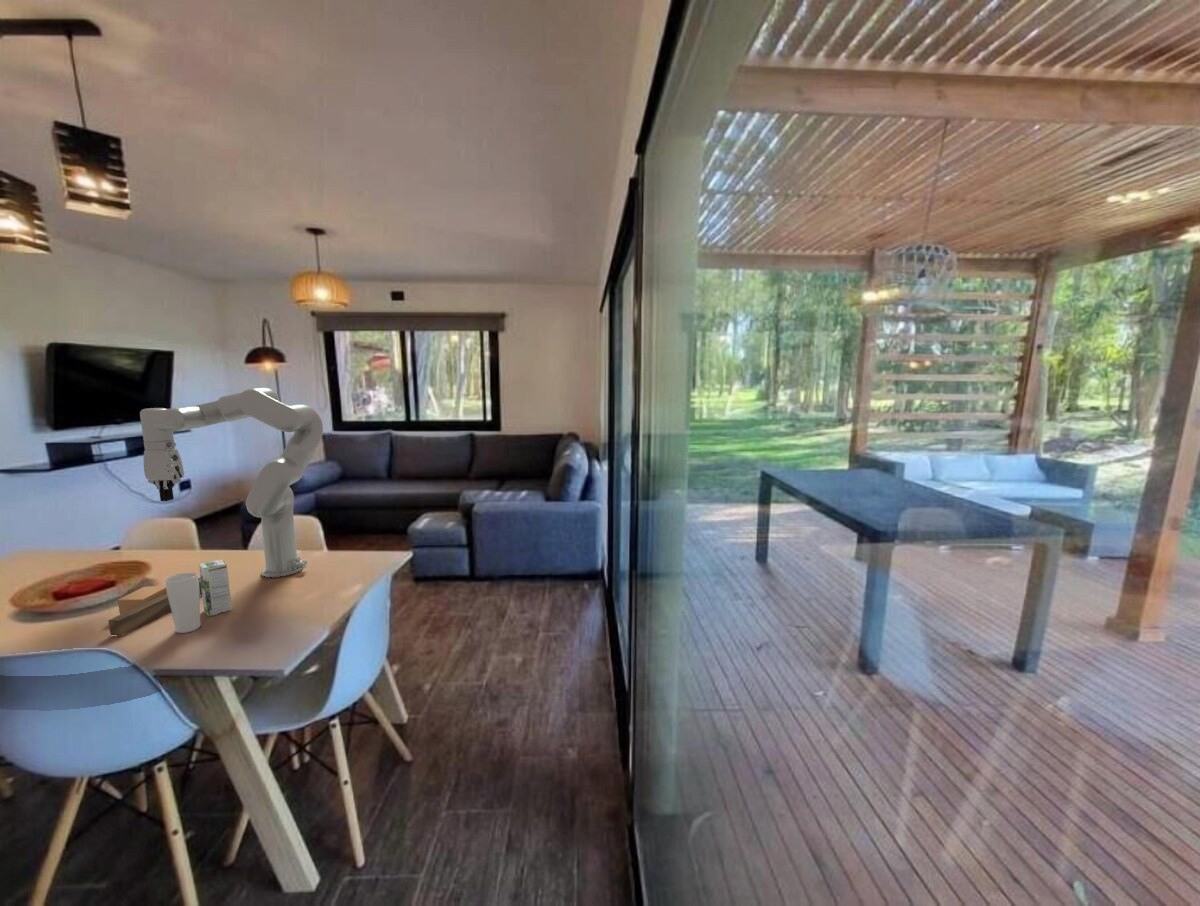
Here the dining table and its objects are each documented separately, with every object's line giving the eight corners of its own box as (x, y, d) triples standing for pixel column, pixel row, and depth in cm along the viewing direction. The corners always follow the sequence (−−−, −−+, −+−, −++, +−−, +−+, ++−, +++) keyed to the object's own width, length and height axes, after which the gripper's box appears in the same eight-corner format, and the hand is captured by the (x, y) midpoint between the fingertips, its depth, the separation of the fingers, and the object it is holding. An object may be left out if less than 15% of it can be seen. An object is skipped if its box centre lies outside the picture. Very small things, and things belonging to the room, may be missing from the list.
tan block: (171, 604, 153) (168, 586, 152) (145, 619, 144) (143, 599, 144) (147, 605, 153) (144, 586, 152) (120, 619, 144) (117, 599, 143)
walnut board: (209, 591, 162) (207, 578, 162) (121, 636, 135) (118, 620, 134) (200, 591, 162) (199, 578, 162) (110, 636, 135) (108, 620, 134)
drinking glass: (169, 637, 134) (161, 584, 132) (176, 626, 140) (169, 574, 138) (201, 631, 137) (194, 579, 135) (206, 621, 143) (200, 570, 141)
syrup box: (203, 611, 149) (197, 564, 147) (227, 604, 153) (222, 558, 151) (208, 617, 145) (202, 568, 143) (233, 610, 150) (227, 563, 147)
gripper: (191, 444, 170) (197, 498, 173) (149, 444, 171) (157, 497, 174) (170, 447, 162) (178, 503, 165) (127, 447, 163) (135, 502, 166)
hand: (167, 500), depth 169 cm, fingers closed
